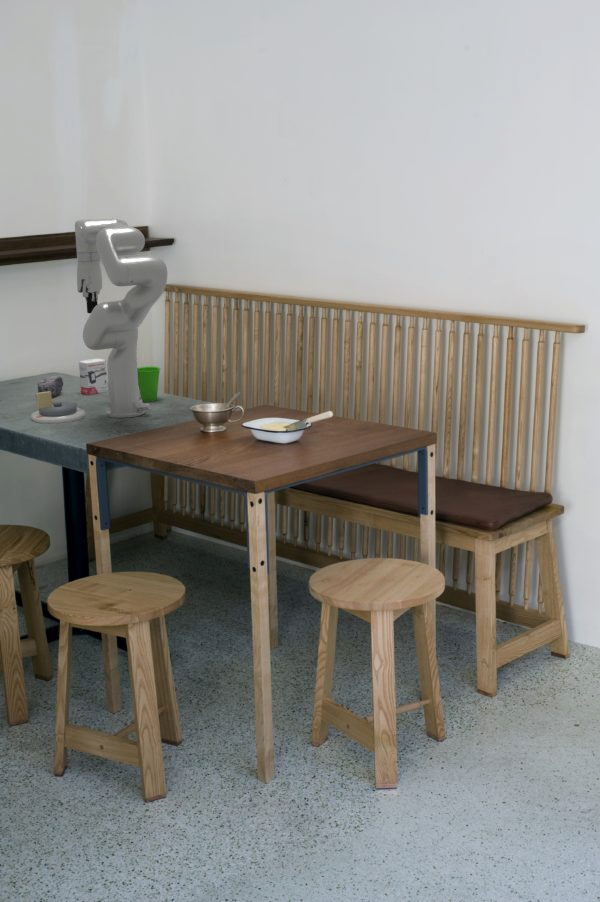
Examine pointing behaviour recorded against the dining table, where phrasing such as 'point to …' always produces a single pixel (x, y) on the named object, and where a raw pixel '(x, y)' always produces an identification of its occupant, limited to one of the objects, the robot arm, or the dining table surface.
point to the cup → (148, 382)
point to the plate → (58, 417)
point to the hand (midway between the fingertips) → (92, 312)
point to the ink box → (93, 376)
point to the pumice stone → (51, 385)
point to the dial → (53, 405)
